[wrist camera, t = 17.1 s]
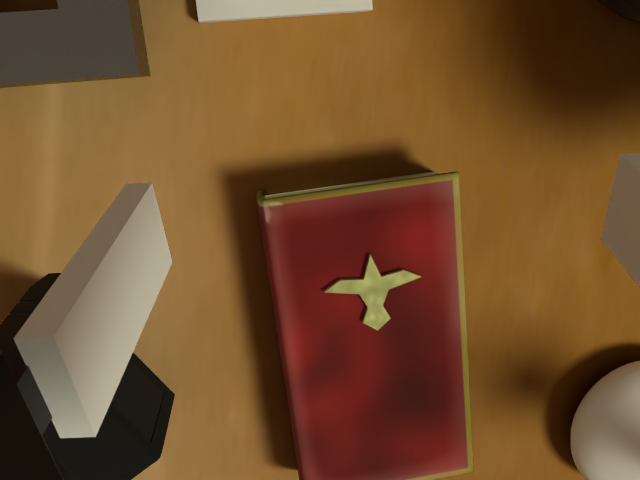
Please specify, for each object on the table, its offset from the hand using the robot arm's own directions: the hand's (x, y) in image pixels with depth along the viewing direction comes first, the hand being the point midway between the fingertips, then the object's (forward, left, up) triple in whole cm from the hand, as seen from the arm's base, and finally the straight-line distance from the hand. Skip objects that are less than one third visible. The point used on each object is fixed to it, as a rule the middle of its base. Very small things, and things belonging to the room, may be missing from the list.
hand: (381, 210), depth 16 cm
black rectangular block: (+11, +17, -20) cm, 28 cm away
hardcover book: (-7, +11, -20) cm, 24 cm away
